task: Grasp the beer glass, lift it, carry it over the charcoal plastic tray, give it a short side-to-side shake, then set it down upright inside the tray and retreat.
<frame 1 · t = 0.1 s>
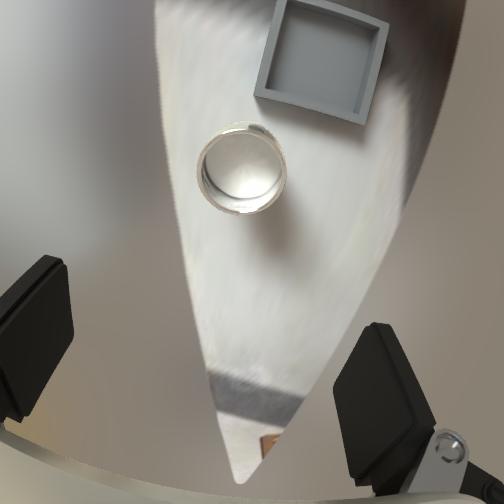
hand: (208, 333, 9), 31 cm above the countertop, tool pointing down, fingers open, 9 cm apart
tray: (319, 57, 32), on the countertop
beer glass: (246, 145, 37), on the countertop
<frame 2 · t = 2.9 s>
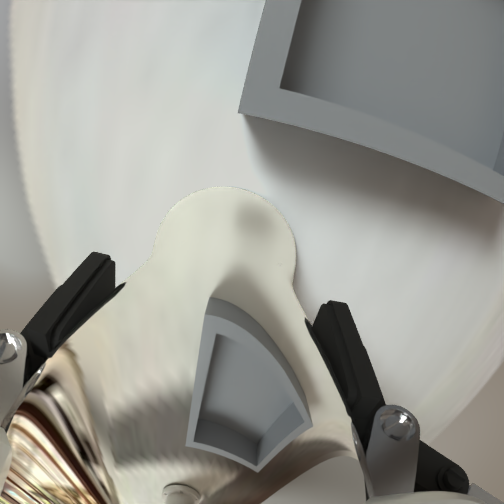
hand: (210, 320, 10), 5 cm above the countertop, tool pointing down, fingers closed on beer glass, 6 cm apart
tray: (423, 17, 9), on the countertop
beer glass: (225, 251, 14), on the countertop, touching gripper
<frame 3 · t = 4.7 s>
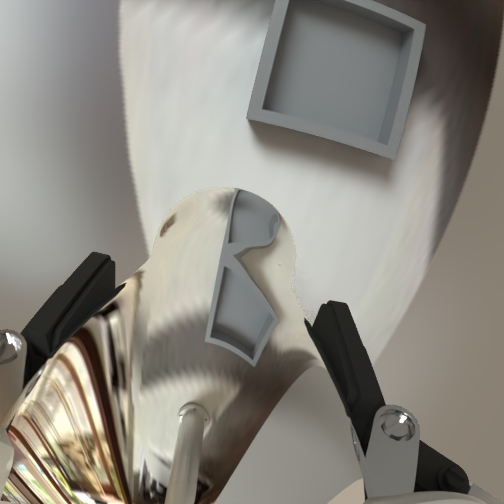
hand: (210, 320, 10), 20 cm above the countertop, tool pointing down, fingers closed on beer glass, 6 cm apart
tray: (335, 66, 24), on the countertop
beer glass: (225, 252, 14), point 15 cm above the countertop, touching gripper
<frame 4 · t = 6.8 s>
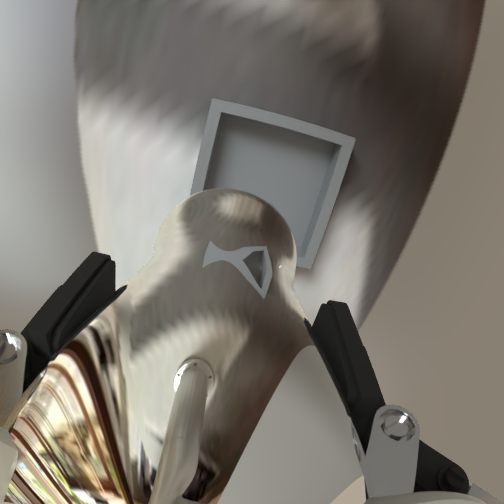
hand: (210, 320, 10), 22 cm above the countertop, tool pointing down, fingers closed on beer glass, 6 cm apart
tray: (264, 180, 30), on the countertop
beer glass: (226, 253, 14), point 18 cm above the countertop, touching gripper
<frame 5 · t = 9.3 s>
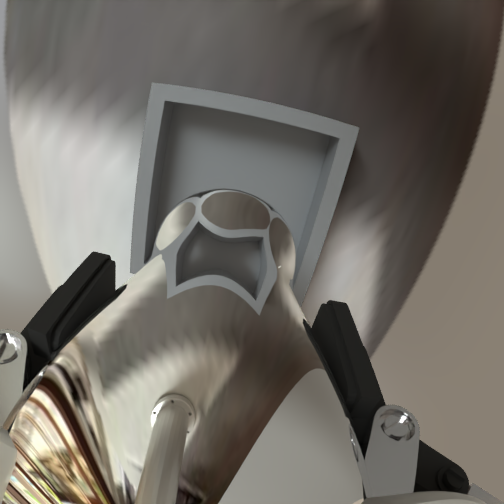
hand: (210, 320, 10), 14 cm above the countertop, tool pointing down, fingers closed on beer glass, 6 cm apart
tray: (235, 190, 23), on the countertop
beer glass: (225, 253, 14), point 9 cm above the countertop, touching gripper
when the fingers open (6 cm above the countertop, at t = 11.2 s): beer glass drops 1 cm, resting on tray.
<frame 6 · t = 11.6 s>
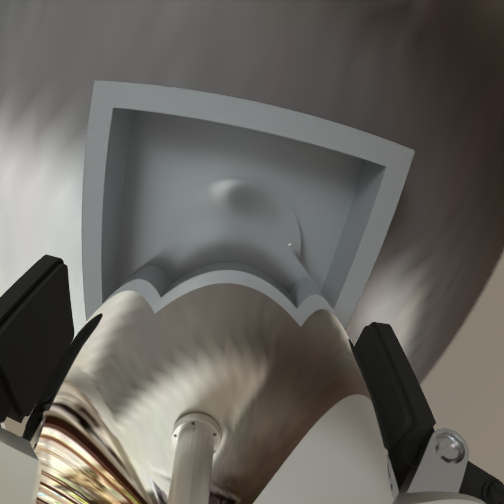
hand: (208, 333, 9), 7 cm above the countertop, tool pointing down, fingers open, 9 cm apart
tray: (227, 235, 16), on the countertop
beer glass: (235, 238, 16), resting on tray
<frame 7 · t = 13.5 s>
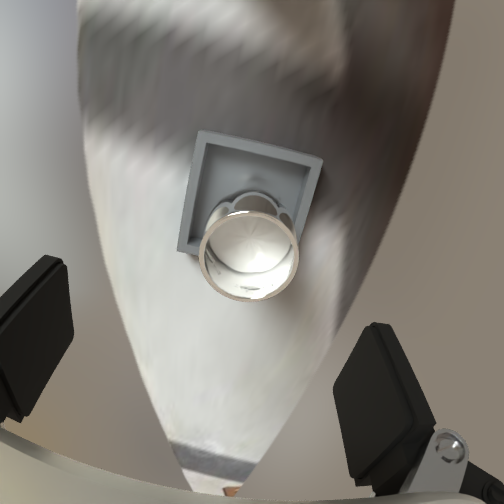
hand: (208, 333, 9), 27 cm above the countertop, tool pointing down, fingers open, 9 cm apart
tray: (247, 199, 36), on the countertop
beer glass: (251, 199, 35), resting on tray
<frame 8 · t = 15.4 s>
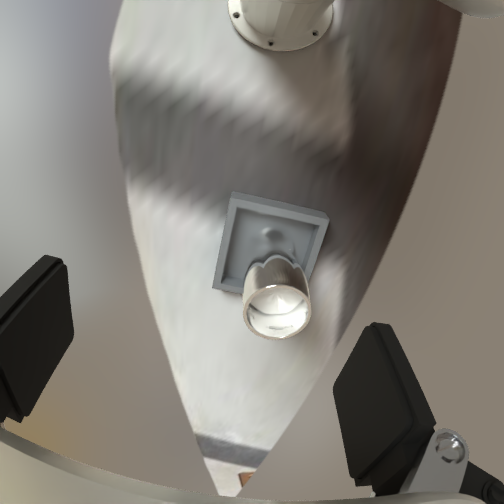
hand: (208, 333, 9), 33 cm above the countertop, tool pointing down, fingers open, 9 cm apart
tray: (267, 245, 45), on the countertop
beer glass: (271, 246, 44), resting on tray
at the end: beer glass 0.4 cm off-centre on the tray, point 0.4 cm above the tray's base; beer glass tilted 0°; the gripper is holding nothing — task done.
